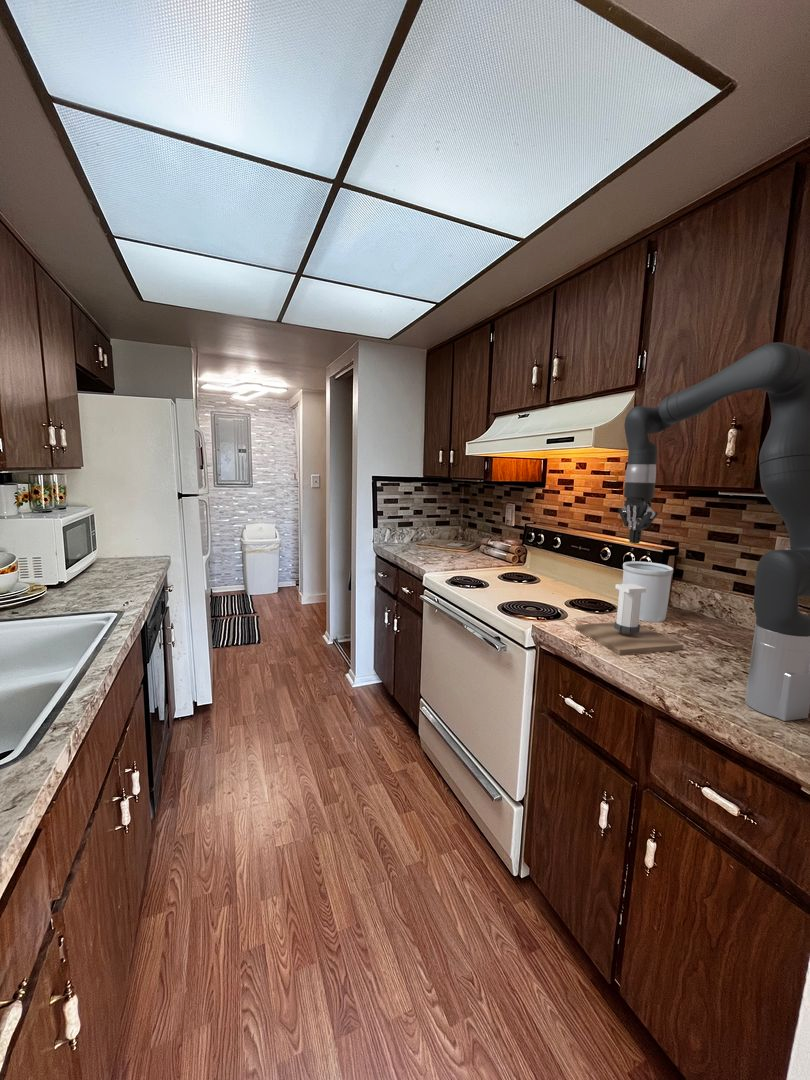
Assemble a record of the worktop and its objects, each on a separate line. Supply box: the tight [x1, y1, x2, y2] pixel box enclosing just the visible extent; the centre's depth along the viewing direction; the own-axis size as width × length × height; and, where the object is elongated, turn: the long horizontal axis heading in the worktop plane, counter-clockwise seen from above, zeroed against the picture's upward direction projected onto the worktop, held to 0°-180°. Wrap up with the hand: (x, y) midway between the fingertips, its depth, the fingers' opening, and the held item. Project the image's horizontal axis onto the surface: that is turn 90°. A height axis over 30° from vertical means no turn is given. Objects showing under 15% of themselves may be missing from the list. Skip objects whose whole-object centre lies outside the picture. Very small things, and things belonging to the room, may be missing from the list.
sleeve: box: [615, 583, 646, 627], centre depth 129 cm, size 6×6×11 cm
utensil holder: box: [621, 560, 674, 623], centre depth 151 cm, size 15×15×18 cm
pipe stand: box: [574, 621, 684, 656], centre depth 129 cm, size 20×20×14 cm
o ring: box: [614, 620, 641, 633], centre depth 130 cm, size 6×6×2 cm
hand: (634, 542), depth 126 cm, fingers closed
